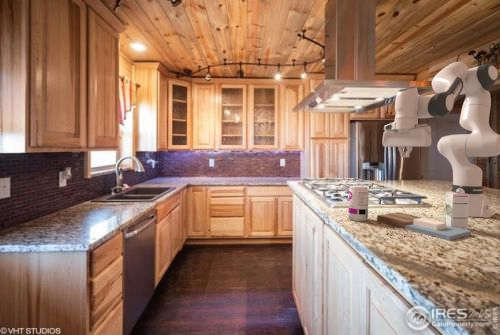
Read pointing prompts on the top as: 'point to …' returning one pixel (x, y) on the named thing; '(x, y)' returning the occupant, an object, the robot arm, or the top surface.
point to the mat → (440, 231)
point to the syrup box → (457, 210)
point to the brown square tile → (397, 219)
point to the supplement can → (358, 203)
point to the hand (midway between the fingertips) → (405, 157)
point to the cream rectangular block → (429, 223)
